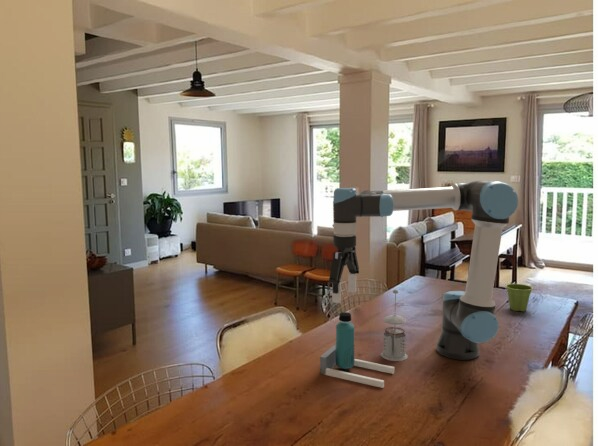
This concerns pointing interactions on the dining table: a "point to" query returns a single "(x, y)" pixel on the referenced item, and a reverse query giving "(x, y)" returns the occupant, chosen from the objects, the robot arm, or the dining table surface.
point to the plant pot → (518, 296)
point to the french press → (394, 338)
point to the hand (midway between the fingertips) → (344, 297)
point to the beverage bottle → (345, 342)
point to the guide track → (329, 362)
